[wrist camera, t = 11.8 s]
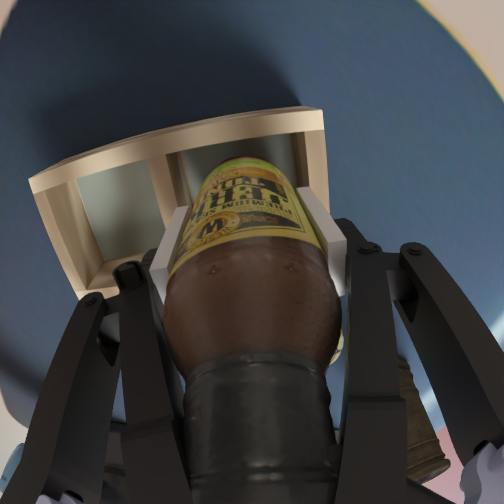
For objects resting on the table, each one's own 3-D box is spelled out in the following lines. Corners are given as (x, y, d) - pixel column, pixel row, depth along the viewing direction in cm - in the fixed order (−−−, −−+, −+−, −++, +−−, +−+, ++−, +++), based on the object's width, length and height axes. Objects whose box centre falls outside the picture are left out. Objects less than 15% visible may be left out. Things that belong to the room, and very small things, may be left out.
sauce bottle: (269, 136, 19) (481, 480, 2) (301, 215, 22) (425, 513, 5) (182, 175, 20) (51, 519, 3) (221, 248, 23) (218, 554, 6)
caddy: (102, 267, 26) (81, 303, 22) (63, 159, 21) (28, 179, 16) (313, 234, 26) (330, 268, 21) (302, 105, 20) (322, 109, 16)
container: (370, 356, 35) (415, 477, 20) (418, 356, 37) (466, 457, 21) (342, 395, 40) (371, 501, 24) (389, 392, 41) (423, 485, 25)
